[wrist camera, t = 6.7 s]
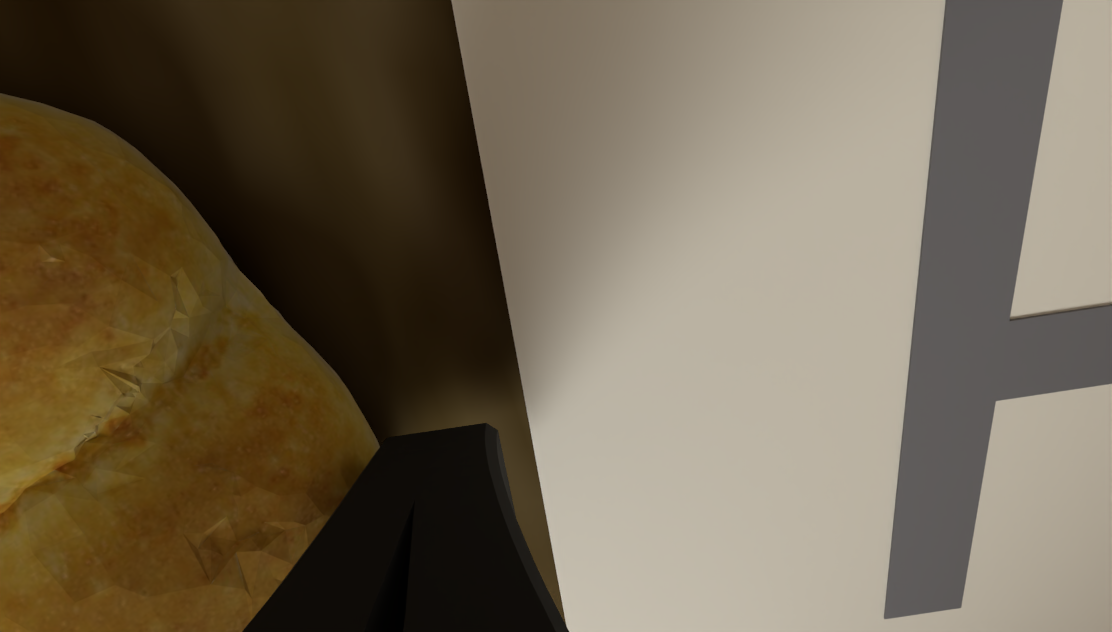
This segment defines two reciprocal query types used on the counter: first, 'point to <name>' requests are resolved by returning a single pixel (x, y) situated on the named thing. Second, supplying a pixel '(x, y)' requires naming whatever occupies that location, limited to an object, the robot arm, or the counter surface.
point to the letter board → (809, 305)
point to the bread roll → (146, 400)
